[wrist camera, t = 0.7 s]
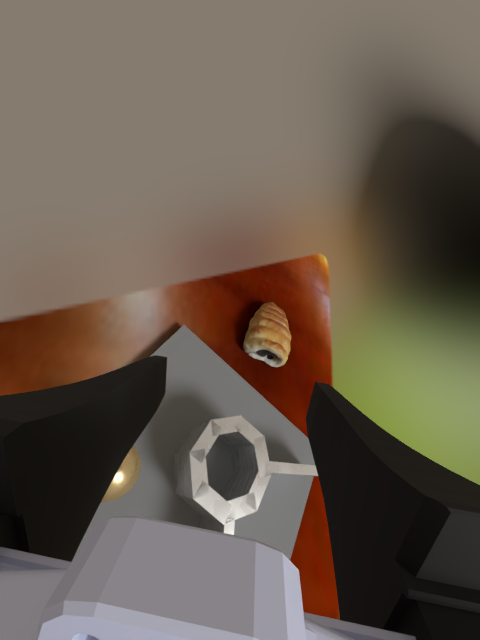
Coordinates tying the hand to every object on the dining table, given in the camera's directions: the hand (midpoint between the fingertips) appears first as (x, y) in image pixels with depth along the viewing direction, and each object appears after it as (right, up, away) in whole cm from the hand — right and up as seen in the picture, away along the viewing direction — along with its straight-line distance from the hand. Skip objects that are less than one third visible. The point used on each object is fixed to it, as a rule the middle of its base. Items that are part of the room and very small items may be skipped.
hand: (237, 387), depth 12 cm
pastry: (+3, +1, +23) cm, 23 cm away
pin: (-10, -8, +7) cm, 15 cm away
